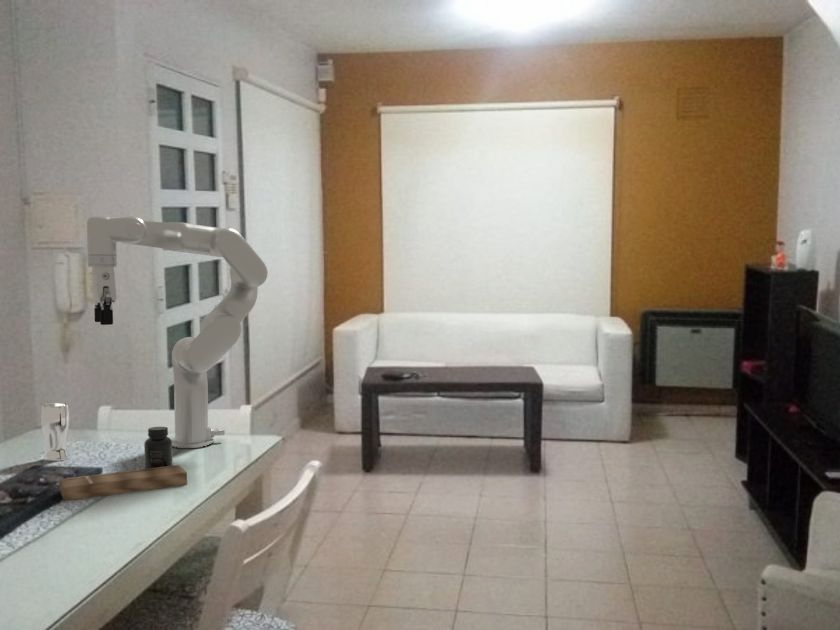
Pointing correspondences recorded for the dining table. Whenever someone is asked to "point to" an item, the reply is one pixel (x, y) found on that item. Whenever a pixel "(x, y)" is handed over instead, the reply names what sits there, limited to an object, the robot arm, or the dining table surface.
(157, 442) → the supplement bottle
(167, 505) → the dining table surface
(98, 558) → the dining table surface
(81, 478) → the walnut plank
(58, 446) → the beer glass
